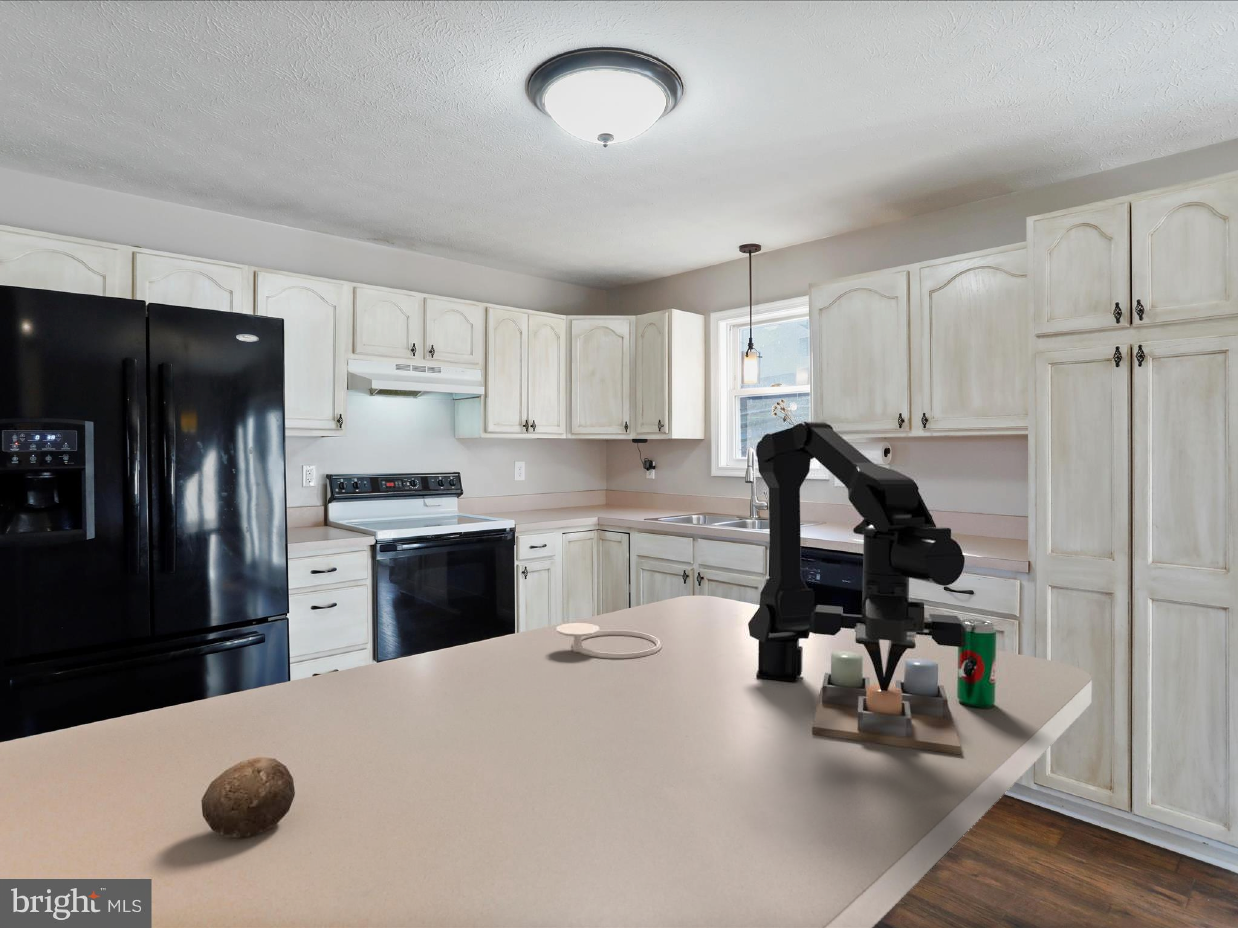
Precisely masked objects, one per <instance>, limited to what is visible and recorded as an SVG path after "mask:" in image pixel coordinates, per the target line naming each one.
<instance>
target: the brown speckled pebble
mask: <svg viewBox="0 0 1238 928" xmlns="http://www.w3.org/2000/svg"><path fill="white" fill-rule="evenodd" d="M294 783H295V781H294V777H293V776H292V774H291V772H290V771H289V769H288V768H287V766H286V765H284V764H283V763H282V762H280V761H279V760H277V759H276V758H274V757H273V758H272V757H265V756H264V757H262V756H258V757H254V758H250V759H246V760H242V761H240V762H238V763H236V764H235V765H233V766H231V767H229V768H227V769H226V770H224V771H223V772H222V773H221V774H220V775H219V776H217V777H216V778H214V779H213V780H212V781H211V782H210V784H209V785H208V787H207V788H206V791H205V792H204V795H203V796H202V799H201V800H200V801H201V810H202V811H201V814H202V817H203V818H204V820H205V823H206V824H208V826H209V828H210V829H211V830H212V831H214V832H216V833H217V834H220V835H221V836H224V837H227V838H242V839H243V838H247V837H250V836H254V835H257V834H261V833H263V832H265V831H267V830H269V829H272V828H273V827H275V826H276V825H277V824H279V822H280V821H281V820H282V819H283V818H284V817H285V816H286V815H287V814H288V812H289V811H290V809H291V806H292V805H293V804H292V803H293V801H294V798H295V797H296V795H295V794H296V791H295V784H294Z"/></svg>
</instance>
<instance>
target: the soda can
mask: <svg viewBox="0 0 1238 928" xmlns="http://www.w3.org/2000/svg"><path fill="white" fill-rule="evenodd" d="M960 620H961V621H962V622H963V624H964V626H965V630H966V646H965V647H957V667H956V669H957V671H956V675H957V676H956V698H957V699H958V700H959V702H960V703H961V704H963V705H965V706H968V707H970V708H971V707H972V708H978V709H988V708H991V707H992V706H994V705H995V704H996V681H997V680H996V679H997V677H996V674H997V630H996V629H995V627H994V626H995V624H994V623H993V622H991V621H988V620H983V619H977V618H976V619H975V618H964V619H960Z"/></svg>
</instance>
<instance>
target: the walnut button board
mask: <svg viewBox="0 0 1238 928" xmlns="http://www.w3.org/2000/svg"><path fill="white" fill-rule="evenodd" d="M870 678H871V677H868V676H862V686H861V687H857V688H850V687H841V686H836V685H834V684H832V683H831V672H825V673H824V676H823V681H822V687H820V690H819V695H818V698H817V703H816V708H815V713H814V716H813V717H814V718H813V723H812V725H811V726H812V727H811V730H812V731H811V735H814V736H815V735H816V736H824V737H830V738H831V737H832V738H837V739H838V738H839V739H844V740H845V739H846V740H852V741H860V742H868V743H874V744H880V745H881V744H882V745H889V746H895V747H896V746H897V747H904V748H912V749H918V750H924V751H925V750H926V751H934V752H939V753H940V752H941V753H946V754H947V753H948V754H955V755H961V752H962V750H961V747H962V746H961V743H960V740H959V736H958V732H957V729H956V726H955V722H954V719H953V716H952V712H951V709H950V706H949V703H948V701H949V699H948V696H947V693H946V689H945V686H944V685H942V684H938V694H937V695H935V696H920V695H913V694H910V693H907V692H906V691H905V690H904V680H897V679H896V680H895V687H897V688H899V689H901V690H902V716H900V715H892V714H884V713H876V712H868V711H866V691H867V686H869V685H871V683H870V682H871V679H870Z"/></svg>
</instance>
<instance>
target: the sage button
mask: <svg viewBox="0 0 1238 928" xmlns="http://www.w3.org/2000/svg"><path fill="white" fill-rule="evenodd" d="M863 660H864V658H863V655H861V654H859V653H856V652H851V651H843V650H842V651H841V650H840V651H834V652H833V651H832V653H831V654H830V673H831V683H832V684H834V685H836V686H841V687H850V688H857V687H861V686H862V677H864V676H863V672H864V671H863V670H864V669H863V667H864V666H863V664H864V663H863Z"/></svg>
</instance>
